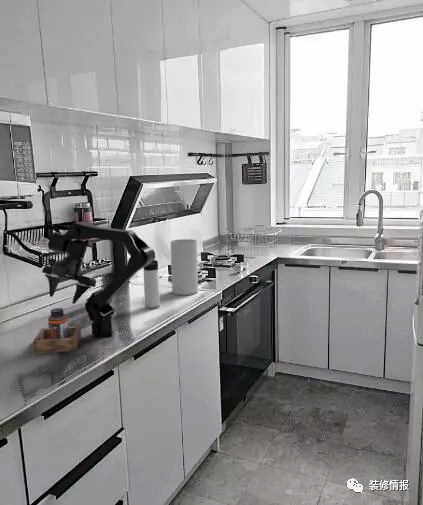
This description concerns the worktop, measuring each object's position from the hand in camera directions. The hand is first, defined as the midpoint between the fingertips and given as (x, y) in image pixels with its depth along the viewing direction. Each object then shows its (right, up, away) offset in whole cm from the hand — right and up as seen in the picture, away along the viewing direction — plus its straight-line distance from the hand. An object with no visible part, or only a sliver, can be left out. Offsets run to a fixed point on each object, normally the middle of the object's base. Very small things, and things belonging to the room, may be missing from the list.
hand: (62, 300), depth 160 cm
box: (+1, -14, -5) cm, 15 cm away
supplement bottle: (+1, -14, -6) cm, 15 cm away
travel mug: (+27, -7, +38) cm, 47 cm away
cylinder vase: (+39, -3, +63) cm, 74 cm away
